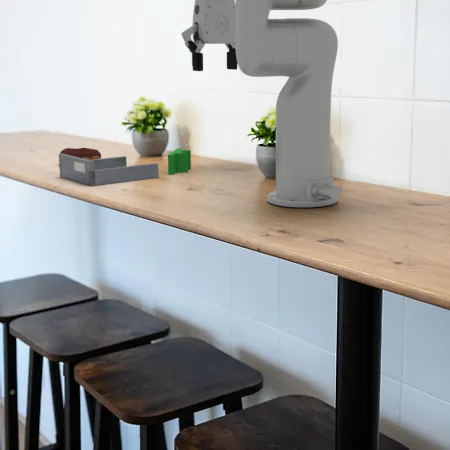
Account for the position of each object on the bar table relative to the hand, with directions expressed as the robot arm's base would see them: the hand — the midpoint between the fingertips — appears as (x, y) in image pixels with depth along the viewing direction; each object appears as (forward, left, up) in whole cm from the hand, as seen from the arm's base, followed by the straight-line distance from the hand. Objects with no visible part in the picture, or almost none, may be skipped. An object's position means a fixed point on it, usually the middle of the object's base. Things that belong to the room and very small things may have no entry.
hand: (215, 70), depth 176 cm
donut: (+24, +23, -22) cm, 40 cm away
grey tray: (+2, +27, -22) cm, 35 cm away
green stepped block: (0, +10, -22) cm, 25 cm away
